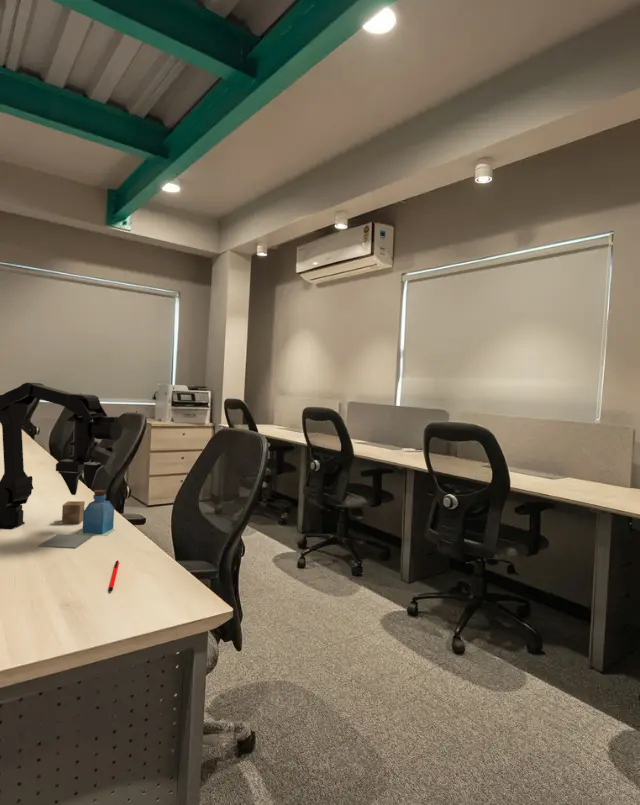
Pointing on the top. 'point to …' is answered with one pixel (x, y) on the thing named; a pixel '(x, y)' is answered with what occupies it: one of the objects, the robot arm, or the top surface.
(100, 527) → the perfume bottle
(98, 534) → the code mat
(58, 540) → the slate coaster
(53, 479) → the top surface
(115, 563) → the pen
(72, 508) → the walnut block
